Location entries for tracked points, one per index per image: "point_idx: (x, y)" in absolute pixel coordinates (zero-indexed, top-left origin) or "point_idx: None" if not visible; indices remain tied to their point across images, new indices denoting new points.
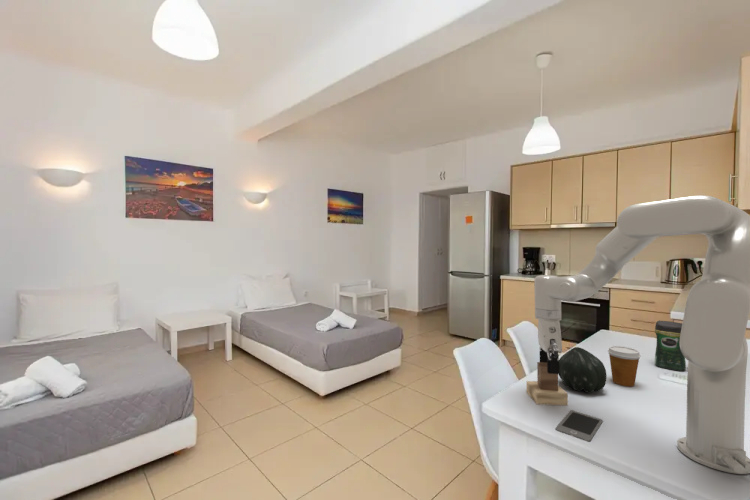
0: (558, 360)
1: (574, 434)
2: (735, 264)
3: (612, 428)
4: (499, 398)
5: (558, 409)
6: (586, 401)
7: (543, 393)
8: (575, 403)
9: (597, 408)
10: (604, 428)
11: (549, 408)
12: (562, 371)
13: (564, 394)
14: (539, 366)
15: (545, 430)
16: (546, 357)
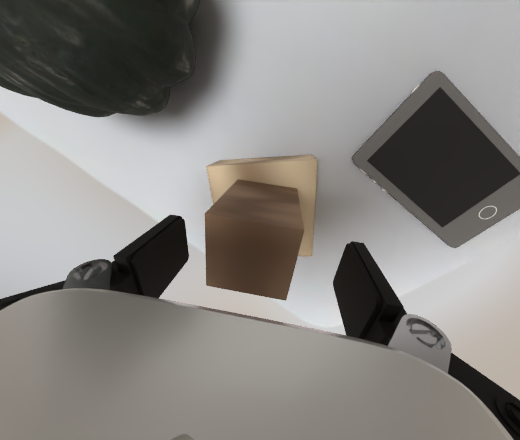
0: (437, 331)
1: (499, 215)
2: None
3: (499, 61)
4: (283, 301)
5: (340, 194)
6: (273, 61)
7: (312, 239)
8: (295, 118)
9: (334, 40)
10: (489, 96)
11: (333, 216)
12: (130, 110)
13: (316, 171)
14: (262, 292)
15: (448, 267)
16: (166, 255)
